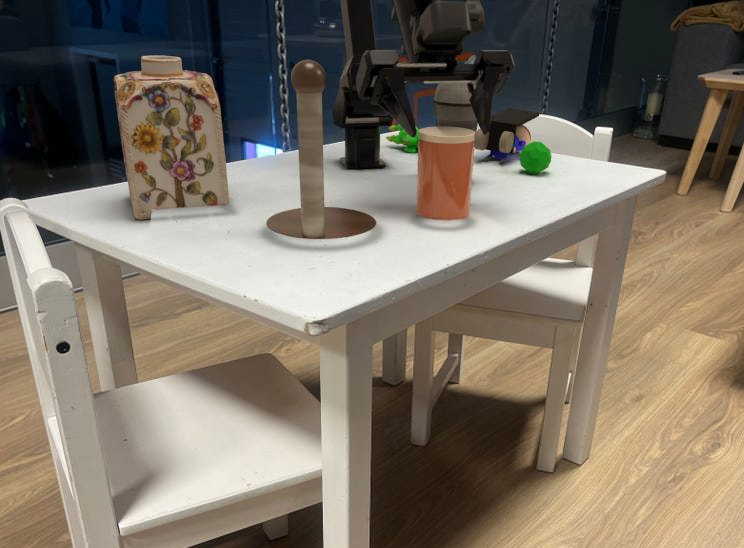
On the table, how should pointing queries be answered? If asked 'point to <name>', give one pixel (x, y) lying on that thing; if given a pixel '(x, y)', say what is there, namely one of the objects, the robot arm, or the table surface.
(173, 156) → the decorative jar
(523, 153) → the polyhedron
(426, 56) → the robot arm
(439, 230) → the table surface
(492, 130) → the figurine character
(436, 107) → the beverage cup
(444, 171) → the tumbler
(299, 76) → the towel holder
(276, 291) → the table surface
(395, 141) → the crocodile figurine
